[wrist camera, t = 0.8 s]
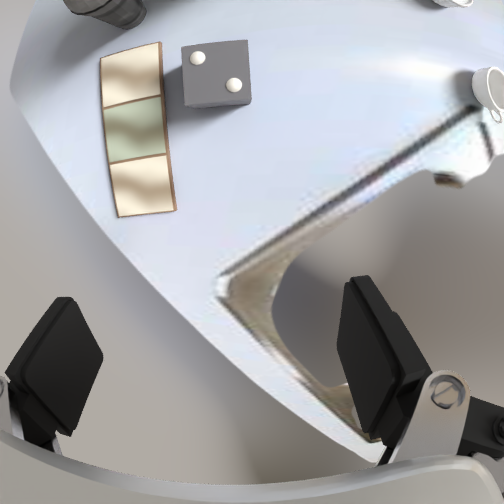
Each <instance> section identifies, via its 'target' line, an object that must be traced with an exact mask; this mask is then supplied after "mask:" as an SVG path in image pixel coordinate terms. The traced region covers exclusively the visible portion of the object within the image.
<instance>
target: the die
mask: <svg viewBox="0 0 504 504" xmlns="http://www.w3.org/2000/svg"><path fill="white" fill-rule="evenodd" d="M181 52H182V72H183V88H184V103H185V106H187V107H191V108H194V109H200V108H208V107H218V106H228V105H242V104H250V103H251V99H252V98H251V82H250V68H249V53H248V40H236V41H224V42H214V43H205V44H198V45H191V46H184V47H181Z"/></svg>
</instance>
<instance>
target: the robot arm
mask: <svg viewBox="0 0 504 504" xmlns="http://www.w3.org/2000/svg"><path fill="white" fill-rule="evenodd" d="M337 351H338V354H339V357H340V360H341V363H342V366H343V369H344V372H345V375H346V379H347V382H348V385H349V388H350V391H351V394H352V397H353V401H354V404H355V407H356V410H357V413H358V417H359V420H360V424H361V427H362V430H363V432H364V433H369V436H370V439H371V440H372V439H376V438H380V437H381V439H382V442H383V445H385V448H384V449H383V451H382V453H381V455H380V457H379V459H378V461H377V463H376V465H375V467H372V468H368V469H363V470H358V471H354V472H349V473H345V474H340V475H335V476H329V477H323V478H316V479H309V480H301V481H292V482H283V483H272V484H253V485H213V484H196V483H183V482H174V481H166V480H158V479H151V478H145V477H140V476H134V475H129V474H125V473H120V472H116V471H112V470H107V469H103V468H99V467H96V466H93V465H89V464H86V463H83V462H79V461H76V460H73V459H70V458H67V457H64V456H63V455H62V452H61V449H60V446H59V443H58V440H57V437H56V434H55V431H56V430H57V431H58V432H59V433H60V434H63V435H66V436H69V437H71V435H72V432H73V430H75V429H76V427H77V425H78V422H79V419H80V416H81V414H82V411H83V408H84V406H85V403H86V400H87V398H88V395H89V393H90V391H91V388H92V385H93V383H94V381H95V378H96V376H97V373H98V371H99V369H100V367H101V364H102V362H103V353H102V351H101V349H100V348H99V346H98V344H97V342H96V340H95V338H94V336H93V334H92V333H91V331H90V329H89V327H88V325H87V323H86V321H85V319H84V317H83V315H82V313H81V311H80V308H79V306H78V304H77V302H75V301H74V300H73V298H71V297H57V298H56V299H55V301H54V302H53V303H52V304H51V306H50V307H49V309H48V310H47V311H46V312H45V314H44V315H43V316H42V318H41V319H40V320H39V322H38V323H37V325H36V326H35V327H34V329H33V330H32V332H31V333H30V334H29V336H28V337H27V339H26V340H25V342H24V343H23V345H22V346H21V348H20V349H19V351H18V352H17V354H16V355H15V357H14V359H13V360H12V362H11V363H10V365H9V366H8V368H7V370H6V371H5V374H6V375H7V376H8V377H9V379H10V380H11V381H10V383H8V381H7V380H6V379H5V378H4V377H2V376H0V504H504V408H503V407H500V406H497V405H494V404H491V403H489V402H486V401H483V400H480V399H477V398H475V397H472V396H470V389H469V386H468V384H467V382H466V381H465V379H464V378H463V377H461V376H460V375H459V374H457V373H455V372H453V371H447V370H442V371H437V372H435V373H432V371H431V369H430V367H429V365H428V363H427V362H426V360H425V358H424V357H423V355H422V353H421V351H420V349H419V348H418V346H417V345H416V343H415V341H414V340H413V338H412V336H411V334H410V333H409V331H408V330H407V328H406V326H405V325H404V323H403V321H402V320H401V318H400V317H399V315H398V314H397V313H395V312H394V311H393V312H392V310H391V309H390V307H389V305H388V304H387V302H386V301H385V299H384V297H383V296H382V294H381V293H380V291H379V290H378V288H377V287H376V285H375V284H374V282H373V281H372V279H371V278H370V277H369V276H368V275H365V276H357V277H351V279H350V282H346V283H345V286H344V295H343V302H342V310H341V318H340V325H339V332H338V338H337Z"/></svg>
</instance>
